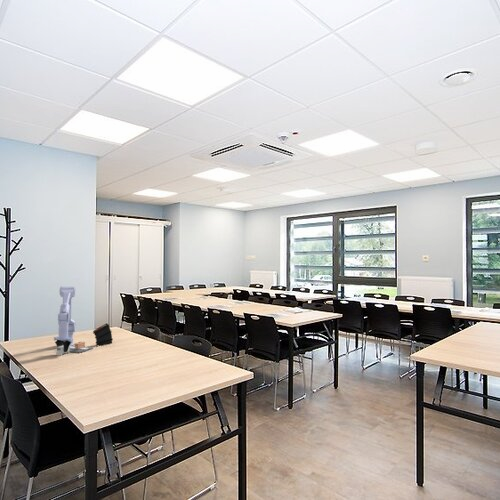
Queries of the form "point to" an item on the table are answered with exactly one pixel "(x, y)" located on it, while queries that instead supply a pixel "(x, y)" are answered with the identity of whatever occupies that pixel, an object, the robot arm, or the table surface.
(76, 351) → the din rail
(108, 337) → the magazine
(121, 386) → the table surface
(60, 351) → the block
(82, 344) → the block with grey knob
